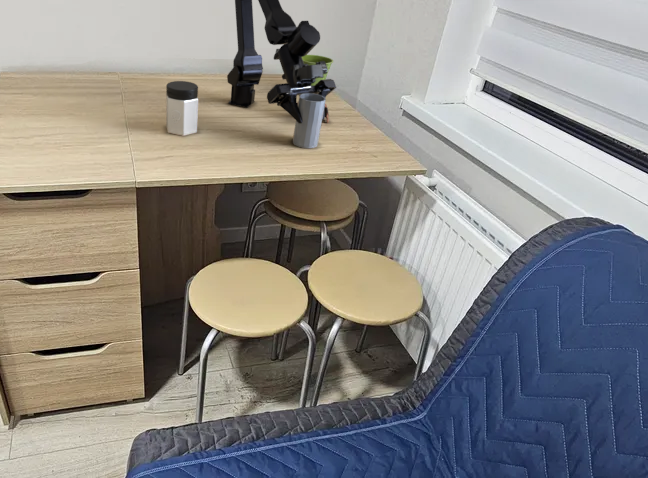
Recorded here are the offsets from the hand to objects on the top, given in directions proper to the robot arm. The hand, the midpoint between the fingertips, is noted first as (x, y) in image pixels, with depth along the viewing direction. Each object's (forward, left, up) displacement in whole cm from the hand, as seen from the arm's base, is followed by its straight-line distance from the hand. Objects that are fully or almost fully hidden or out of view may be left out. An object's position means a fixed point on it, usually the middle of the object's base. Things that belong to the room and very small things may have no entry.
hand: (311, 121), depth 134 cm
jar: (-33, -9, -7) cm, 35 cm away
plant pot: (-13, +46, -7) cm, 48 cm away
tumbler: (-1, +1, -7) cm, 7 cm away
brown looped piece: (-5, +21, -7) cm, 22 cm away
